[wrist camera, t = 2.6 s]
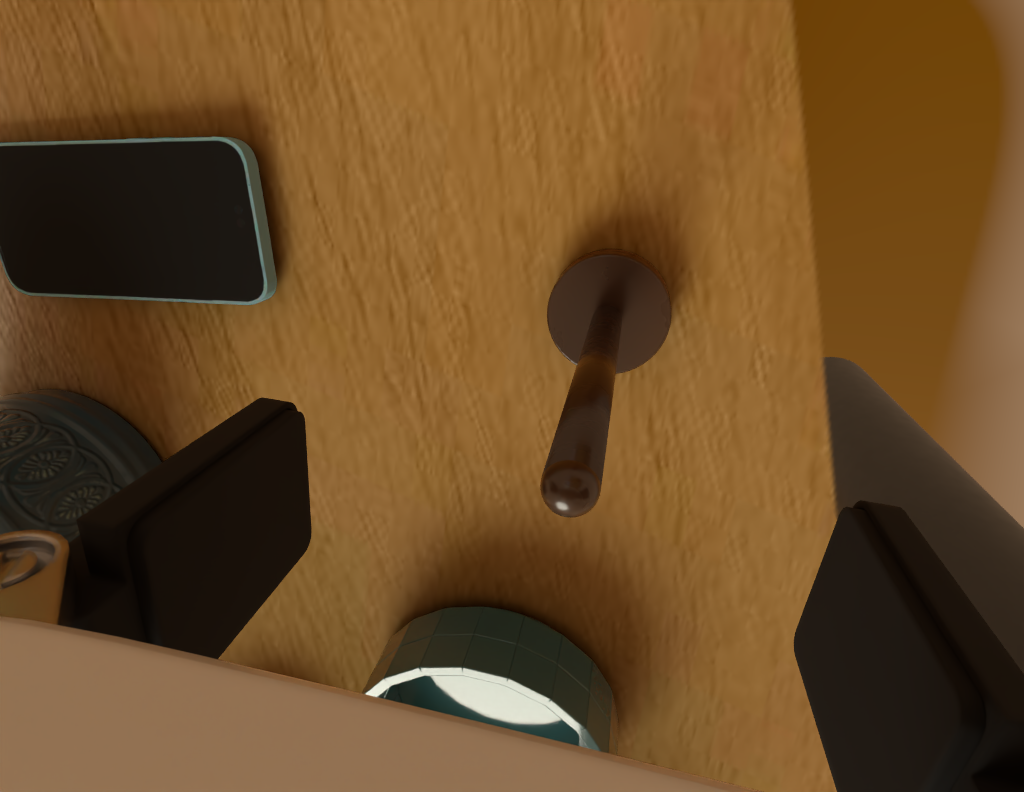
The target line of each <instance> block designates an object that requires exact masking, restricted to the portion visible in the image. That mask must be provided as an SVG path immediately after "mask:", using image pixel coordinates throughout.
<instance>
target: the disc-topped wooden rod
mask: <svg viewBox="0 0 1024 792" xmlns="http://www.w3.org/2000/svg"><path fill="white" fill-rule="evenodd" d="M547 321H548V327H549V331H550V334H551V337H552V339H553V341H554V343H555V345H556V346H557V348H558V349H559V350H560V352H561V353H562V354H563V355H564V356H565V357H566V358H567V359H568V360H570V361H571V362H572V363H574V364H575V365H577V367H576V370H575V373H574V376H573V379H572V383H571V386H570V389H569V392H568V395H567V399H566V402H565V405H564V408H563V411H562V414H561V418H560V421H559V424H558V427H557V430H556V433H555V437H554V440H553V443H552V446H551V449H550V453H549V456H548V459H547V462H546V465H545V468H544V472H543V475H542V478H541V484H540V490H541V495H542V498H543V500H544V502H545V504H546V505H547V506H548V507H549V508H550V509H551V510H552V511H553V512H554V513H556V514H558V515H560V516H564V517H578V516H581V515H584V514H586V513H587V512H589V511H590V510H591V509H592V508H593V507H594V506H595V505H596V503H597V501H598V499H599V496H600V492H601V484H602V476H603V468H604V460H605V452H606V445H607V437H608V429H609V421H610V413H611V406H612V398H613V390H614V382H615V374H617V373H623V372H626V371H630V370H632V369H635V368H637V367H639V366H641V365H642V364H644V363H645V362H647V361H648V360H649V359H651V358H652V357H653V356H654V355H655V354H656V353H657V351H658V350H659V349H660V347H661V346H662V344H663V343H664V341H665V339H666V336H667V334H668V331H669V328H670V323H671V304H670V298H669V293H668V290H667V286H666V284H665V282H664V280H663V278H662V276H661V275H660V273H659V272H658V271H657V270H656V268H655V267H654V266H653V265H652V264H650V263H649V262H648V261H647V260H645V259H644V258H642V257H640V256H638V255H636V254H634V253H631V252H628V251H624V250H619V249H605V250H599V251H594V252H592V253H589V254H586V255H584V256H582V257H580V258H579V259H578V260H576V261H575V262H573V263H572V264H571V265H570V266H569V267H568V268H567V269H566V270H565V271H564V272H563V274H562V275H561V277H560V278H559V280H558V281H557V283H556V284H555V286H554V288H553V290H552V292H551V295H550V298H549V302H548V308H547Z"/></svg>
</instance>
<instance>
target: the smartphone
mask: <svg viewBox="0 0 1024 792" xmlns="http://www.w3.org/2000/svg"><path fill="white" fill-rule="evenodd" d="M0 259H1V262H2V265H3V268H4V271H5V273H6V276H7V278H8V280H9V281H10V283H11V284H12V286H13V287H14V288H15V289H17V290H18V291H20V292H21V293H24V294H26V295H31V296H50V297H74V298H99V299H123V300H147V301H169V302H192V303H214V304H236V305H252V304H256V303H259V302H261V301H264V300H267V299H269V298H271V297H272V296H273V294H274V293H275V291H276V286H277V278H276V272H275V266H274V259H273V253H272V247H271V241H270V234H269V228H268V222H267V216H266V210H265V204H264V198H263V192H262V187H261V181H260V175H259V169H258V163H257V160H256V157H255V155H254V152H253V151H252V149H251V148H250V147H249V146H248V145H247V144H246V143H245V142H243V141H241V140H239V139H236V138H232V137H181V138H175V137H158V138H127V139H114V140H78V141H38V142H0Z"/></svg>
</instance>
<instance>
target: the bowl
mask: <svg viewBox="0 0 1024 792" xmlns="http://www.w3.org/2000/svg"><path fill="white" fill-rule="evenodd" d="M362 694H366V695H370V696H374V697H379V698H383V699H387V700H391V701H395V702H399V703H403V704H408V705H412V706H416V707H420V708H424V709H428V710H432V711H437V712H441V713H445V714H449V715H453V716H457V717H461V718H466V719H470V720H474V721H478V722H482V723H486V724H490V725H494V726H498V727H503V728H507V729H511V730H515V731H519V732H523V733H527V734H531V735H535V736H539V737H544V738H548V739H552V740H556V741H560V742H564V743H568V744H572V745H576V746H581V747H585V748H589V749H593V750H597V751H601V752H605V753H609V754H613V755H617V745H618V723H619V721H618V716H617V711H616V706H615V701H614V697H613V692H612V689H611V688H610V686H609V685H608V683H607V681H606V680H605V678H604V677H603V675H602V674H601V672H600V670H599V669H598V667H597V666H596V664H595V663H594V661H593V660H592V659H591V658H589V657H588V656H587V655H586V654H585V653H584V652H582V651H581V650H580V649H579V648H578V647H577V646H575V645H574V644H573V643H572V642H571V641H570V640H568V639H567V638H566V637H565V636H564V635H562V634H561V633H559V632H557V631H556V630H554V629H552V628H551V627H549V626H547V625H545V624H543V623H541V622H539V621H538V620H536V619H533V618H530V617H528V616H525V615H523V614H520V613H516V612H513V611H509V610H505V609H499V608H493V607H483V606H473V607H451V608H443V609H441V610H438V611H435V612H432V613H429V614H426V615H423V616H421V617H418V618H415V619H414V620H411V621H410V622H409V623H408V624H407V625H406V626H404V627H403V628H402V629H401V630H400V631H399V632H397V633H396V634H395V635H394V636H393V637H391V639H390V640H389V642H388V644H387V646H386V648H385V650H384V651H383V653H382V655H381V657H380V659H379V661H378V663H377V665H376V667H375V669H374V671H373V672H372V674H371V676H370V678H369V680H368V682H367V684H366V686H365V688H364V690H363V692H362Z"/></svg>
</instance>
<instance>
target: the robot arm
mask: <svg viewBox="0 0 1024 792" xmlns="http://www.w3.org/2000/svg"><path fill="white" fill-rule="evenodd" d="M76 521H77V525H78V529H79V533H80V535H79V536H78V537H77V538H75V539H74V540H72V541H71V542H69V543H68V541H67V540H66V539H65V538H64V537H63V536H62V535H61V534H58V533H55V532H51V531H48V530H23V531H14V532H9V533H5V534H1V535H0V792H762V791H758V790H754V789H750V788H746V787H742V786H738V785H734V784H729V783H725V782H721V781H717V780H713V779H709V778H705V777H701V776H697V775H693V774H689V773H685V772H681V771H677V770H673V769H669V768H665V767H661V766H657V765H653V764H649V763H645V762H641V761H637V760H633V759H629V758H625V757H621V756H617V755H613V754H609V753H605V752H601V751H597V750H593V749H589V748H585V747H581V746H576V745H572V744H568V743H564V742H560V741H556V740H552V739H548V738H544V737H539V736H535V735H531V734H527V733H523V732H519V731H515V730H511V729H507V728H503V727H498V726H494V725H490V724H486V723H482V722H478V721H474V720H470V719H466V718H461V717H457V716H453V715H449V714H445V713H441V712H437V711H432V710H428V709H424V708H420V707H416V706H412V705H408V704H403V703H399V702H395V701H391V700H387V699H383V698H379V697H374V696H370V695H366V694H362V693H358V692H354V691H349V690H345V689H341V688H337V687H332V686H328V685H324V684H320V683H315V682H311V681H307V680H303V679H298V678H294V677H290V676H286V675H282V674H277V673H273V672H269V671H265V670H260V669H256V668H252V667H248V666H243V665H239V664H235V663H231V662H226V661H222V660H218V658H219V657H220V656H221V654H222V653H223V652H224V651H225V649H226V648H227V647H228V646H229V645H230V643H231V642H232V641H233V640H234V639H235V637H236V636H237V635H238V634H239V632H240V631H241V630H242V629H243V628H244V626H245V625H246V624H247V623H248V621H249V620H250V619H251V618H252V617H253V615H254V614H255V613H256V612H257V610H258V609H259V608H260V607H261V606H262V604H263V603H264V602H265V601H266V599H267V598H268V597H269V596H270V595H271V593H272V592H273V591H274V590H275V588H276V587H277V586H278V585H279V584H280V582H281V581H282V580H283V579H284V577H285V576H286V575H287V574H288V573H289V571H290V570H291V569H292V568H293V567H294V565H295V564H296V563H297V562H298V560H299V559H300V558H301V557H302V556H303V554H304V553H305V552H306V550H307V548H308V546H309V543H310V539H311V516H310V499H309V482H308V465H307V447H306V430H305V418H304V415H303V414H302V413H301V412H298V411H297V408H296V406H295V405H294V404H293V403H291V402H285V401H280V400H274V399H268V398H259V399H257V400H256V401H254V402H253V403H251V404H250V405H248V406H247V407H245V408H244V409H242V410H241V411H239V412H238V413H236V414H235V415H233V416H232V417H230V418H228V419H227V420H225V421H224V422H222V423H221V424H219V425H218V426H216V427H215V428H213V429H212V430H210V431H209V432H207V433H206V434H204V435H203V436H201V437H200V438H198V439H197V440H195V441H194V442H192V443H191V444H189V445H188V446H186V447H185V448H183V449H182V450H180V451H179V452H177V453H176V454H174V455H173V456H171V457H170V458H168V459H167V460H165V461H164V462H162V463H161V464H159V465H158V466H156V467H155V468H153V469H152V470H150V471H149V472H147V473H146V474H144V475H143V476H141V477H140V478H138V479H137V480H135V481H134V482H132V483H131V484H129V485H128V486H126V487H125V488H123V489H122V490H120V491H119V492H117V493H116V494H114V495H113V496H111V497H110V498H108V499H107V500H105V501H104V502H102V503H101V504H99V505H98V506H96V507H95V508H93V509H92V510H90V511H89V512H87V513H86V514H84V515H83V516H81V517H80V518H78V519H77V520H76ZM794 652H795V657H796V660H797V663H798V666H799V670H800V673H801V676H802V679H803V683H804V686H805V689H806V692H807V696H808V699H809V702H810V705H811V709H812V712H813V715H814V718H815V722H816V725H817V728H818V731H819V735H820V738H821V741H822V744H823V747H824V751H825V754H826V757H827V760H828V764H829V767H830V770H831V773H832V777H833V780H834V783H835V786H836V790H837V792H1024V674H1023V672H1022V671H1021V670H1020V668H1019V667H1018V666H1017V664H1016V663H1015V661H1014V660H1013V659H1012V657H1011V656H1010V655H1009V653H1008V652H1007V651H1006V649H1005V648H1004V646H1003V645H1002V644H1001V642H1000V641H999V640H998V638H997V637H996V635H995V634H994V633H993V631H992V630H991V629H990V627H989V626H988V625H987V623H986V622H985V620H984V619H983V618H982V616H981V615H980V614H979V612H978V611H977V609H976V608H975V607H974V605H973V604H972V603H971V601H970V600H969V599H968V597H967V596H966V594H965V593H964V592H963V590H962V589H961V588H960V586H959V585H958V583H957V582H956V581H955V579H954V578H953V577H952V575H951V574H950V573H949V571H948V570H947V568H946V567H945V566H944V564H943V563H942V562H941V560H940V559H939V558H938V556H937V555H936V553H935V552H934V551H933V549H932V548H931V547H930V545H929V544H928V542H927V541H926V540H925V538H924V537H923V536H922V534H921V533H920V532H919V530H918V529H917V527H916V526H915V525H914V523H913V522H912V521H911V519H910V518H909V516H908V515H907V514H906V512H905V511H904V510H903V509H902V508H901V507H896V506H890V505H885V504H879V503H873V502H867V501H859V502H857V503H856V504H855V505H854V506H853V508H850V507H845V508H843V510H842V511H841V513H840V515H839V517H838V520H837V522H836V525H835V528H834V530H833V533H832V536H831V538H830V541H829V544H828V546H827V549H826V552H825V554H824V557H823V560H822V562H821V565H820V568H819V570H818V573H817V576H816V578H815V581H814V584H813V586H812V589H811V592H810V594H809V597H808V600H807V602H806V605H805V608H804V610H803V613H802V616H801V618H800V621H799V624H798V626H797V629H796V632H795V637H794Z"/></svg>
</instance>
